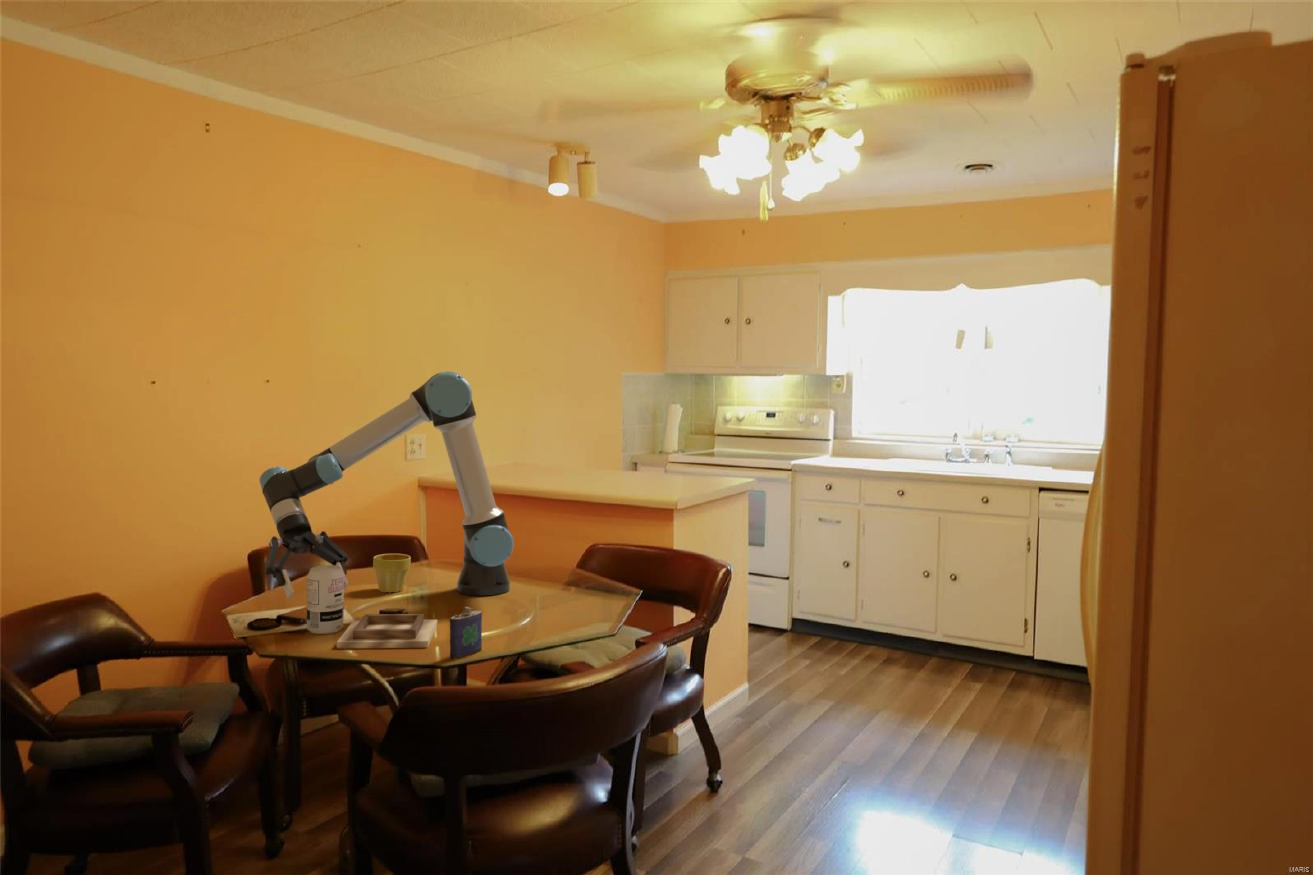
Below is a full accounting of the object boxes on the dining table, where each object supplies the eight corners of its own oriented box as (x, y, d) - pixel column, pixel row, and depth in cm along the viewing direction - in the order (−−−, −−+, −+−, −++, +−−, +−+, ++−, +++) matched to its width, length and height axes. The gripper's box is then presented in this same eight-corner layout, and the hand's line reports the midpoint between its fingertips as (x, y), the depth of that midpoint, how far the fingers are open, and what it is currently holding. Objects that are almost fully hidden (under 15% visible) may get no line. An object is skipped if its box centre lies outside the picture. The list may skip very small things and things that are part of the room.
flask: (476, 647, 200) (476, 601, 199) (485, 650, 198) (486, 603, 197) (446, 658, 192) (447, 610, 191) (456, 660, 190) (457, 612, 189)
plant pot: (414, 586, 256) (414, 553, 256) (405, 595, 246) (405, 560, 245) (378, 585, 256) (379, 552, 255) (368, 594, 245) (368, 559, 245)
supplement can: (312, 625, 214) (313, 564, 213) (347, 625, 214) (347, 565, 213) (302, 634, 206) (302, 572, 205) (338, 635, 206) (338, 572, 205)
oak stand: (437, 625, 216) (437, 611, 216) (427, 647, 199) (428, 632, 198) (353, 626, 214) (353, 612, 214) (336, 648, 196) (336, 633, 196)
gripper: (333, 525, 230) (361, 592, 221) (235, 535, 212) (261, 608, 203) (343, 508, 226) (372, 575, 217) (244, 516, 208) (271, 590, 199)
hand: (318, 591), depth 210 cm, fingers open, 13 cm apart
